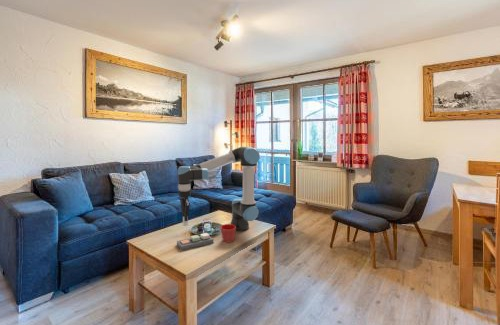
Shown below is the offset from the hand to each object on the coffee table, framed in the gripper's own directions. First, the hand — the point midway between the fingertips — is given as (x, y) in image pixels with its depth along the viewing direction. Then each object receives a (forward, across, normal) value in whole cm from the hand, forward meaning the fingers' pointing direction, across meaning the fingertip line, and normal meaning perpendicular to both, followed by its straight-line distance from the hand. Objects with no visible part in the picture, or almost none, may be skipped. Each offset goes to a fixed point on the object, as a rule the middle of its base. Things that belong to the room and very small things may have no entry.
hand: (185, 225), depth 168 cm
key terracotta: (+13, 0, 0) cm, 13 cm away
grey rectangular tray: (+14, 0, +6) cm, 16 cm away
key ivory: (+11, 0, +14) cm, 18 cm away
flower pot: (+15, +6, +28) cm, 33 cm away
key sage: (+11, 0, +7) cm, 13 cm away
